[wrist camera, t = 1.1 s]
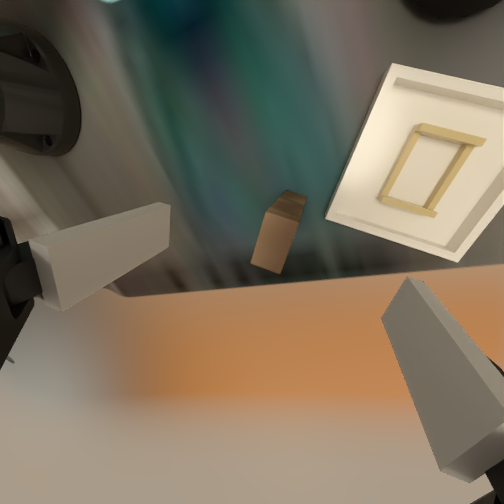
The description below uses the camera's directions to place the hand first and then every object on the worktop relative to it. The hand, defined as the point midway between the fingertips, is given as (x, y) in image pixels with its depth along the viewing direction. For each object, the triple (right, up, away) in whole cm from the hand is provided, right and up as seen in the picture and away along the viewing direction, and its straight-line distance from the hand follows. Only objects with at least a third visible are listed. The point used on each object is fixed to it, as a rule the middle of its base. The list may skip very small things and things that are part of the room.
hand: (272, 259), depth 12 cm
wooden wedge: (+4, +6, +16) cm, 17 cm away
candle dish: (+16, +9, +11) cm, 21 cm away
